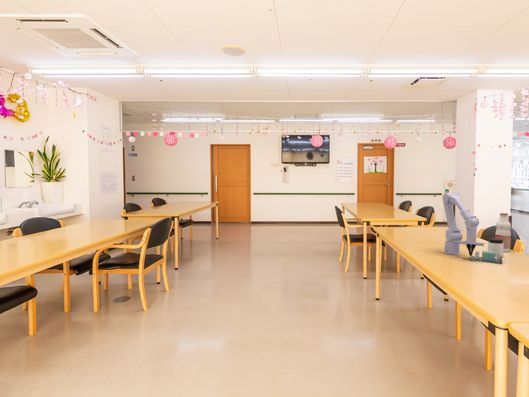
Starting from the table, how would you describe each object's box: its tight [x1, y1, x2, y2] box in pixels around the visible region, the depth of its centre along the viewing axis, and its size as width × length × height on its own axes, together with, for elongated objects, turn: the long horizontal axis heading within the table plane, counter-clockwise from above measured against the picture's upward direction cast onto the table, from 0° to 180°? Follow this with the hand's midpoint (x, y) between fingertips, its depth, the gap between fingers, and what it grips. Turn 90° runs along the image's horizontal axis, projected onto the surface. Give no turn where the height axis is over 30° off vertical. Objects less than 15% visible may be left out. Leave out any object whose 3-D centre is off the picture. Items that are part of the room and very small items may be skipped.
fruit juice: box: [494, 212, 512, 253], centre depth 255 cm, size 9×9×28 cm
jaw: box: [474, 250, 480, 259], centre depth 231 cm, size 2×8×4 cm, turn 145°
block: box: [481, 250, 496, 261], centre depth 227 cm, size 7×4×5 cm, turn 54°
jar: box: [487, 237, 504, 258], centre depth 240 cm, size 9×8×12 cm
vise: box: [469, 254, 503, 265], centre depth 228 cm, size 18×10×4 cm, turn 55°
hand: (470, 255), depth 233 cm, fingers closed
